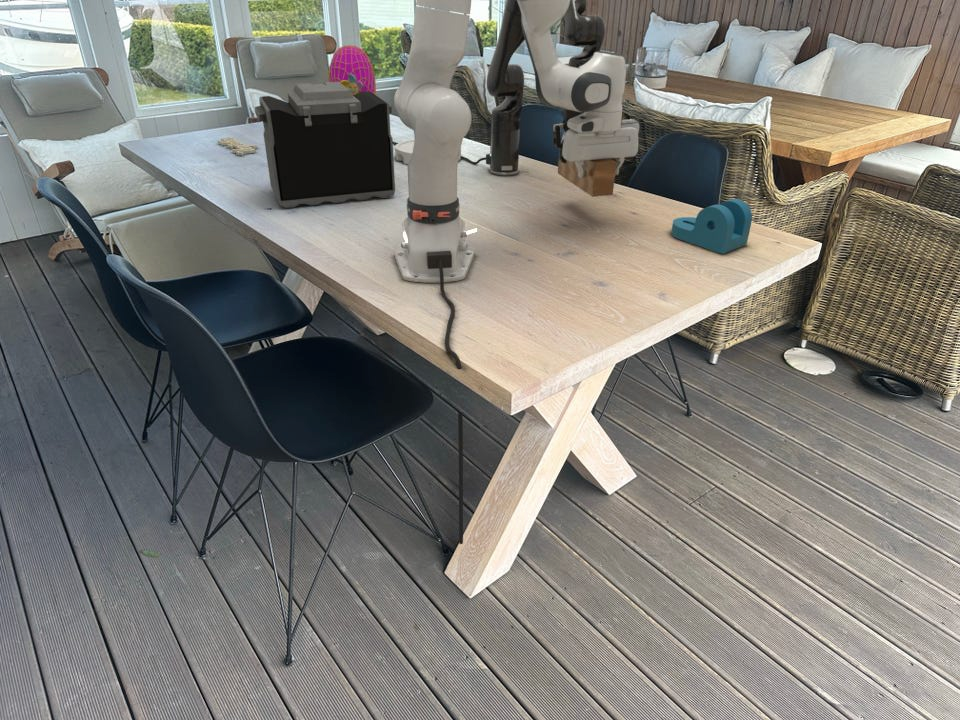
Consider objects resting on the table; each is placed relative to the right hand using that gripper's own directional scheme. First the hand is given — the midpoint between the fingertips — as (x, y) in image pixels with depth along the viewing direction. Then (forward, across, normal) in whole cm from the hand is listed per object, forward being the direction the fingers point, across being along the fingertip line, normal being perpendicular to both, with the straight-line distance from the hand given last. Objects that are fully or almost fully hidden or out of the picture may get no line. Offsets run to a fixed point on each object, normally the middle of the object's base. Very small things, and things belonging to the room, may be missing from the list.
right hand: (574, 161), depth 192 cm
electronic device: (+13, +64, -31) cm, 73 cm away
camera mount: (+13, -22, +34) cm, 43 cm away
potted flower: (+13, +46, -93) cm, 105 cm away
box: (+4, 0, +7) cm, 8 cm away
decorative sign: (+13, +90, -98) cm, 134 cm away
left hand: (0, 0, +15) cm, 15 cm away
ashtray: (+13, +26, -64) cm, 71 cm away
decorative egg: (+14, +42, -130) cm, 137 cm away
